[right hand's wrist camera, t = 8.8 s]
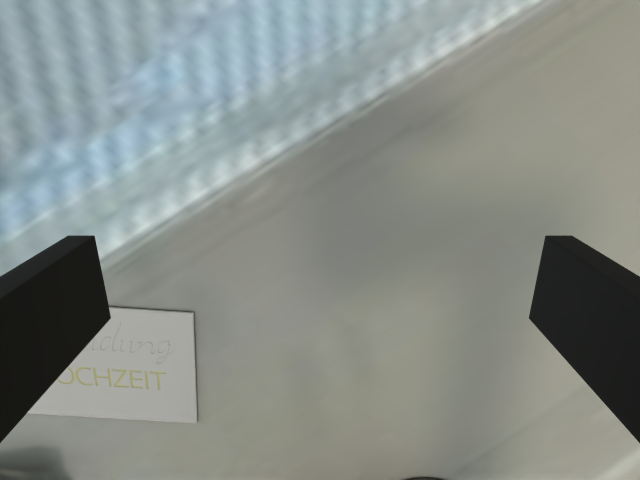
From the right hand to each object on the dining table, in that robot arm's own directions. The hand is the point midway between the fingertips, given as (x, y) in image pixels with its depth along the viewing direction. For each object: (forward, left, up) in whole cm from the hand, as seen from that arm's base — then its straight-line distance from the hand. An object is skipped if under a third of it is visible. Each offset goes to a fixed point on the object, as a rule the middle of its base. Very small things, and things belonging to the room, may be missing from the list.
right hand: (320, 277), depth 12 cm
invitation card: (-24, +25, -28) cm, 44 cm away
